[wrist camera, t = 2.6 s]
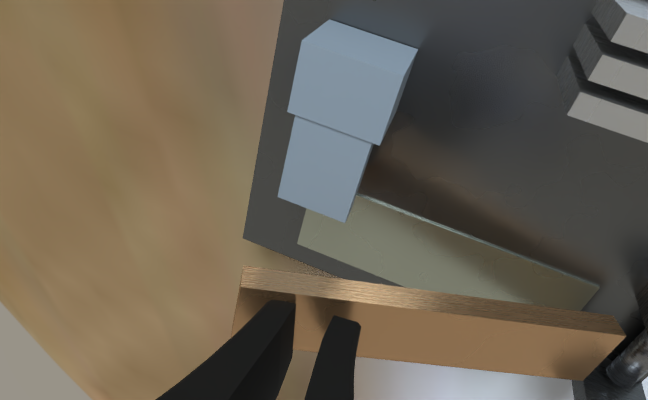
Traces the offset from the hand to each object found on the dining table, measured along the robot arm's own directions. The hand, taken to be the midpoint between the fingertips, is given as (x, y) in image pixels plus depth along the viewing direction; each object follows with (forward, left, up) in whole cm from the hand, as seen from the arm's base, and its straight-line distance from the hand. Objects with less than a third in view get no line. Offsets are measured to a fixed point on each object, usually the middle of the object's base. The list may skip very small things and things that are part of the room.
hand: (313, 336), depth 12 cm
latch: (+1, -4, -5) cm, 6 cm away
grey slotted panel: (-3, -3, -7) cm, 8 cm away
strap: (-4, 0, -2) cm, 4 cm away
